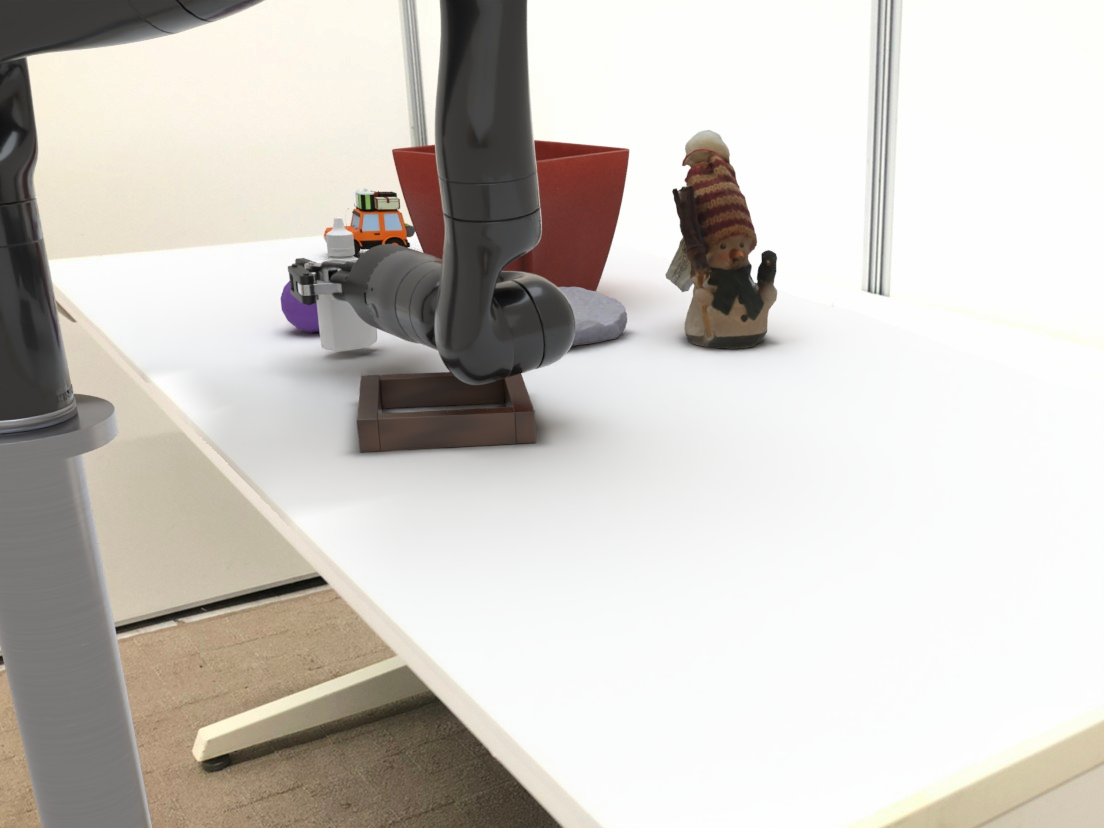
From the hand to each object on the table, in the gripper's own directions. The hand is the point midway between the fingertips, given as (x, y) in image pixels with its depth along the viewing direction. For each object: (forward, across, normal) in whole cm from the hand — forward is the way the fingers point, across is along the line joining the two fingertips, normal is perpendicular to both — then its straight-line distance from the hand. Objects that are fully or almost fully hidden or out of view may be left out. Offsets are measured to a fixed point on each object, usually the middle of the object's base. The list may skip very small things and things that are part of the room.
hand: (332, 266), depth 120 cm
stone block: (-9, -20, +8) cm, 24 cm away
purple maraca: (+15, -4, +8) cm, 17 cm away
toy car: (+48, -25, +8) cm, 54 cm away
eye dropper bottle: (-2, 0, +7) cm, 8 cm away
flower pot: (+11, -26, +8) cm, 29 cm away
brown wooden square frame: (-29, +3, +8) cm, 30 cm away
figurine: (-17, -33, +8) cm, 38 cm away
